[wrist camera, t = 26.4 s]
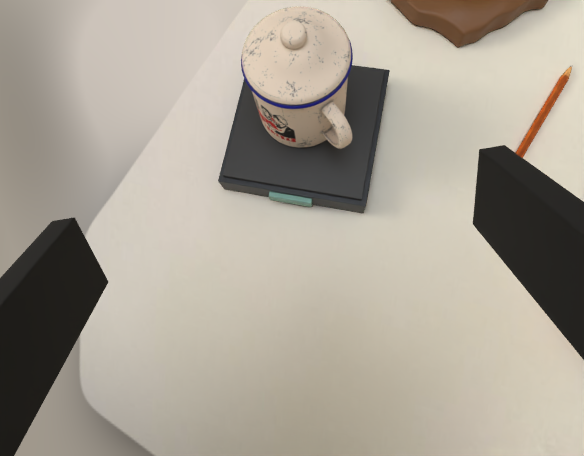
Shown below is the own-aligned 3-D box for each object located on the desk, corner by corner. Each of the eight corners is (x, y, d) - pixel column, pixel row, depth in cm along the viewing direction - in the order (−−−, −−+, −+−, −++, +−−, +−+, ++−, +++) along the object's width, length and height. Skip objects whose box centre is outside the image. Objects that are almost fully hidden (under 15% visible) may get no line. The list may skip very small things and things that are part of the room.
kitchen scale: (223, 193, 43) (215, 183, 40) (255, 66, 46) (249, 48, 43) (362, 218, 41) (365, 209, 38) (386, 84, 44) (390, 66, 41)
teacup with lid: (241, 101, 42) (209, 21, 30) (313, 54, 42) (308, -42, 31) (307, 191, 39) (299, 139, 28) (383, 139, 40) (405, 68, 28)
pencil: (486, 201, 41) (489, 199, 40) (566, 65, 43) (570, 61, 42) (493, 205, 40) (496, 203, 40) (574, 68, 43) (577, 64, 42)
